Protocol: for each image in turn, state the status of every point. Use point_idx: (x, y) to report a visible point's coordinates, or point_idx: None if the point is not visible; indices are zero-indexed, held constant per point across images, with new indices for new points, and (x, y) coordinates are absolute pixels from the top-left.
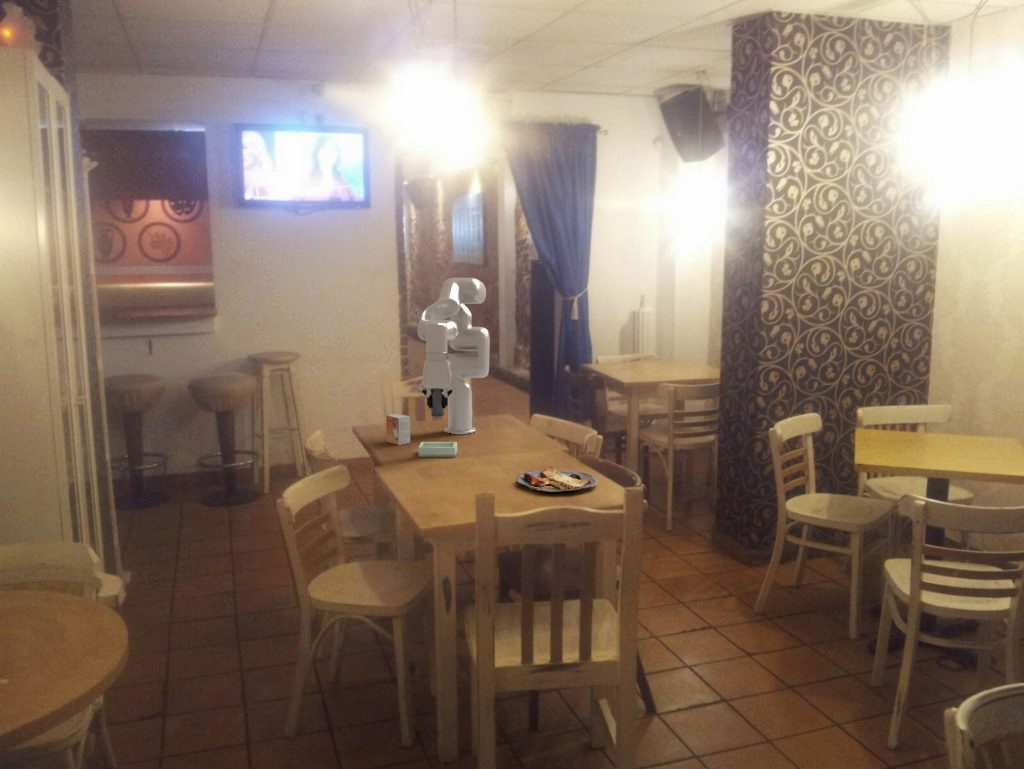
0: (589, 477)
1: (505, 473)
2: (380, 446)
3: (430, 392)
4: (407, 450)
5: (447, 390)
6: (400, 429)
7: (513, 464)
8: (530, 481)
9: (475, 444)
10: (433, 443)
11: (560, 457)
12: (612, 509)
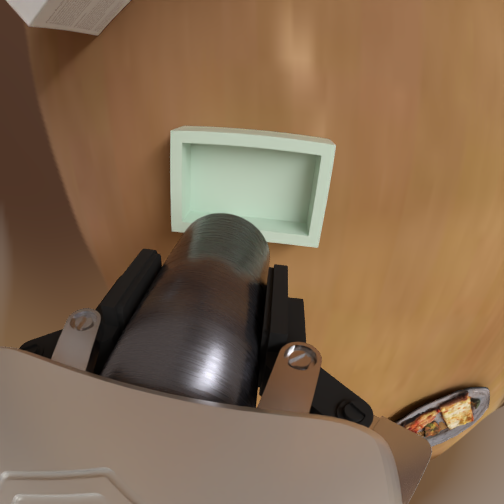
0: (484, 406)
1: (399, 380)
2: (50, 64)
3: (94, 356)
4: (131, 110)
5: (309, 408)
6: (68, 23)
7: (447, 321)
8: None
9: (406, 30)
10: (225, 143)
11: None
12: (431, 459)
